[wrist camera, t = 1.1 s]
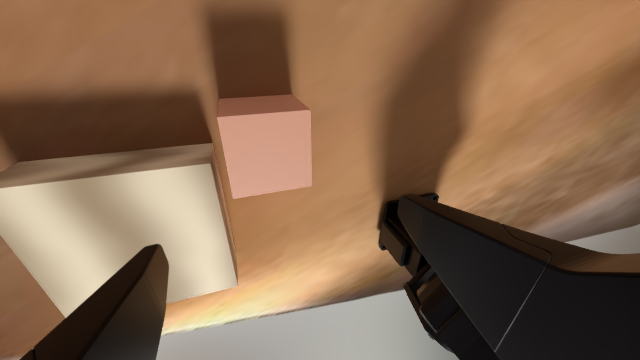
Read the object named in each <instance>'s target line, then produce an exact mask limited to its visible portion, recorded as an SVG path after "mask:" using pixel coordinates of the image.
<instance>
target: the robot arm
mask: <svg viewBox="0 0 640 360" xmlns="http://www.w3.org/2000/svg"><path fill="white" fill-rule="evenodd" d="M438 198H439V196H438V195H437V194H436V193H430V194H425V195H420V196H417V195H414V194H405V195H402V196H401V197H400V200H395V201H390V202H388V203H386V205H385V209H384V216H383V222H382V227H381V233H380V242H379V247H380V249H381V250H388V251H389V253H390V254H391V255H392V257H393V258H394V259H395V260H396V262H397V263H398V264H399V265H400V266H401V267H403V266H405V268H406V269H407V270H408V271H409V273H410V274H411V275H412V278H411V279H410V280H409V281H408V282H406V283H405V284H404V285H403V287H404V289H405V291H406V293H407V296H408V298H409V299H410V301H411V303H412V305H413V307H414V309H415V311H416V313H417V315H418V317H419V319H420V321H421V323H422V325H423V327H424V329H425V330H426V331H427V332H428V335H429V336H430V338H432V339H433V340H436V341H437V342H438V343H439V344H440V345H442V346H443V347H444V348H445V349H447V350H448V351H450V352H452V353H454V354H455V355H456V356H457V357H458V358H459V359H460V360H640V253H639V254H608V253H601V252H597V251H593V250H589V249H585V248H581V247H578V246H575V245H571V244H567V243H564V242H561V241H557V240H553V239H550V238H546V237H543V236H540V235H536V234H533V233H529V232H526V231H523V230H520V229H517V228H514V227H511V226H508V225H505V224H500V223H498V222H495V221H492V220H489V219H486V218H483V217H480V216H477V215H474V214H471V213H468V212H465V211H462V210H459V209H456V208H453V207H450V206H447V205H444V204H441V203H438ZM168 276H169V263H168V260H167V257H166V255H165V252H164V250H163V248H162V246H161V245H160V244H153V245H148V246H145V247H144V248H142V249H141V250H140V251H139V252H138V253H137V254H136V255H135V256H134V257H133V258H131V259H130V260H129V261H128V262H127V263H126V264H125V265H124V266H123V267H122V268H120V269H119V270H118V271H117V272H116V273H115V274H114V275H113V276H112V277H110V278H109V279H108V280H107V281H106V282H105V283H104V284H103V285H102V286H101V287H99V288H98V289H97V290H96V291H95V292H94V293H93V294H92V295H91V296H90V297H88V298H87V299H86V300H85V301H84V302H83V303H82V304H81V305H80V306H78V307H77V308H76V309H75V310H74V311H73V312H72V313H71V314H70V315H69V316H67V317H66V318H65V319H64V320H63V321H62V322H61V323H60V324H59V325H57V326H56V327H55V328H54V329H53V330H52V331H51V332H50V333H49V334H48V335H46V336H45V337H44V338H43V339H42V340H41V341H40V342H39V343H38V344H36V345H35V347H34V349H31V350H30V351H29V352H28V353H26V354H25V355H24V356H23V357H22V358H21V359H20V360H156V356H157V351H158V346H159V341H160V337H161V332H162V327H163V322H164V317H165V311H166V300H167V288H168Z"/></svg>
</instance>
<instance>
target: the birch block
mask: <svg viewBox="0 0 640 360" xmlns="http://www.w3.org/2000/svg"><path fill="white" fill-rule="evenodd" d="M0 235H1V236H2V238H3V239H4V240H5V241H6V243H7V244H8V245H9V246H10V248H11V249H12V250H13V252H14V253H15V254H16V255H17V257H18V258H19V259H20V260H21V262H22V263H23V264H24V265H25V267H26V268H27V269H28V271H29V272H30V273H31V274H32V276H33V277H34V278H35V279H36V281H37V282H38V283H39V285H40V286H41V287H42V288H43V290H44V291H45V292H46V293H47V295H48V296H49V297H50V299H51V300H52V301H53V302H54V304H55V305H56V306H57V307H58V309H59V310H60V311H61V312H62V314H63V315H64V316H65V318H66V317H67V316H69V315H70V314H71V313H72V312H73V311H74V310H75V309H76V308H77V307H78V306H80V305H81V304H82V303H83V302H84V301H85V300H86V299H87V298H88V297H90V296H91V295H92V294H93V293H94V292H95V291H96V290H97V289H98V288H99V287H101V286H102V285H103V284H104V283H105V282H106V281H107V280H108V279H109V278H110V277H112V276H113V275H114V274H115V273H116V272H117V271H118V270H119V269H120V268H122V267H123V266H124V265H125V264H126V263H127V262H128V261H129V260H130V259H131V258H133V257H134V256H135V255H136V254H137V253H138V252H139V251H140V250H141V249H142V248H144V247H145V246H148V245H153V244H160V245H161V246H162V248H163V250H164V252H165V255H166V257H167V260H168V263H169V276H168V288H167V300H166V304H168V303H172V302H176V301H180V300H184V299H188V298H192V297H196V296H200V295H204V294H208V293H212V292H216V291H220V290H224V289H228V288H232V287H236V286H238V277H237V257H236V250H235V246H234V241H233V236H232V231H231V227H230V222H229V217H228V212H227V208H226V203H225V198H224V193H223V189H222V184H221V179H220V174H219V170H218V165H217V160H216V155H215V151H214V146H213V143H207V144H197V145H186V146H176V147H166V148H156V149H146V150H136V151H126V152H116V153H106V154H96V155H85V156H75V157H65V158H55V159H45V160H35V161H25V162H18V163H16V164H14V165H12V166H11V167H9V168H7V169H6V170H4V171H2V172H1V173H0Z"/></svg>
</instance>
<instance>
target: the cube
mask: <svg viewBox="0 0 640 360" xmlns="http://www.w3.org/2000/svg"><path fill="white" fill-rule="evenodd" d="M217 120H218V125H219V130H220V135H221V140H222V145H223V150H224V155H225V160H226V165H227V170H228V175H229V180H230V185H231V190H232V195H233V199H236V198H242V197H248V196H254V195H260V194H266V193H272V192H278V191H285V190H291V189H297V188H303V187H309V186H312V163H311V110H310V109H309V108H308V107H306V106H305V105H304V104H303V103H301V102H300V101H299V100H298V99H297V98H295V97H294V96H293V95H292V94H290V95H274V96H257V97H240V98H224V99H219V103H218V112H217Z"/></svg>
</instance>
